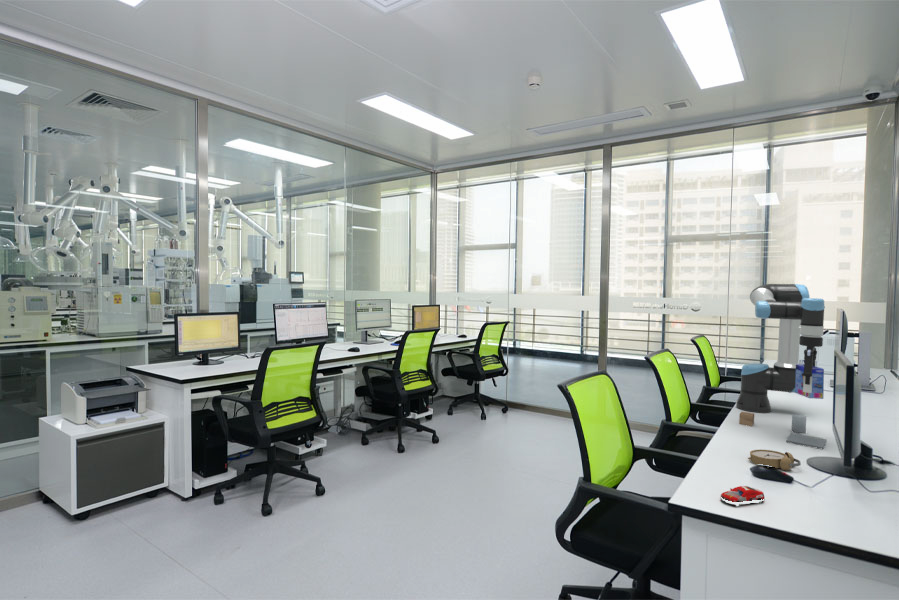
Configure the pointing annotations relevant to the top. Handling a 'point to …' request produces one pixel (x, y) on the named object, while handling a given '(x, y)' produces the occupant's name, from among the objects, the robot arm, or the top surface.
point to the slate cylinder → (799, 423)
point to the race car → (743, 494)
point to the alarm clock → (774, 459)
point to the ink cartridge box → (816, 382)
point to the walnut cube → (746, 418)
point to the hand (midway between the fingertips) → (808, 390)
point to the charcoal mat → (806, 440)
